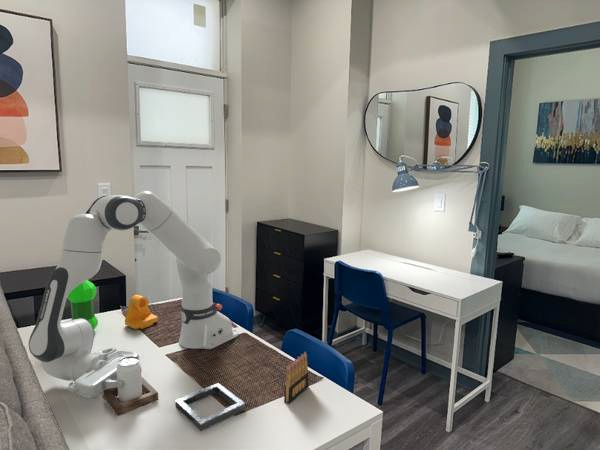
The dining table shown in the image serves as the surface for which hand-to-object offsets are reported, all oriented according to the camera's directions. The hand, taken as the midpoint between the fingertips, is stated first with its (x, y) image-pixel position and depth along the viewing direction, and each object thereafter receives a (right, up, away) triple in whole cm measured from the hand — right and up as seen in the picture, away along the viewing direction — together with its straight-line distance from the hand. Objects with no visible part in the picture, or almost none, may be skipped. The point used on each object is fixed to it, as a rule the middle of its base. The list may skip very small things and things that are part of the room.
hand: (131, 377), depth 123 cm
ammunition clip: (+47, -7, +5) cm, 48 cm away
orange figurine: (-17, +3, +53) cm, 56 cm away
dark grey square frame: (+23, -8, -2) cm, 24 cm away
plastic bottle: (-36, +2, +45) cm, 57 cm away
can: (-1, -7, +2) cm, 7 cm away
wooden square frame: (-1, -7, +2) cm, 7 cm away
